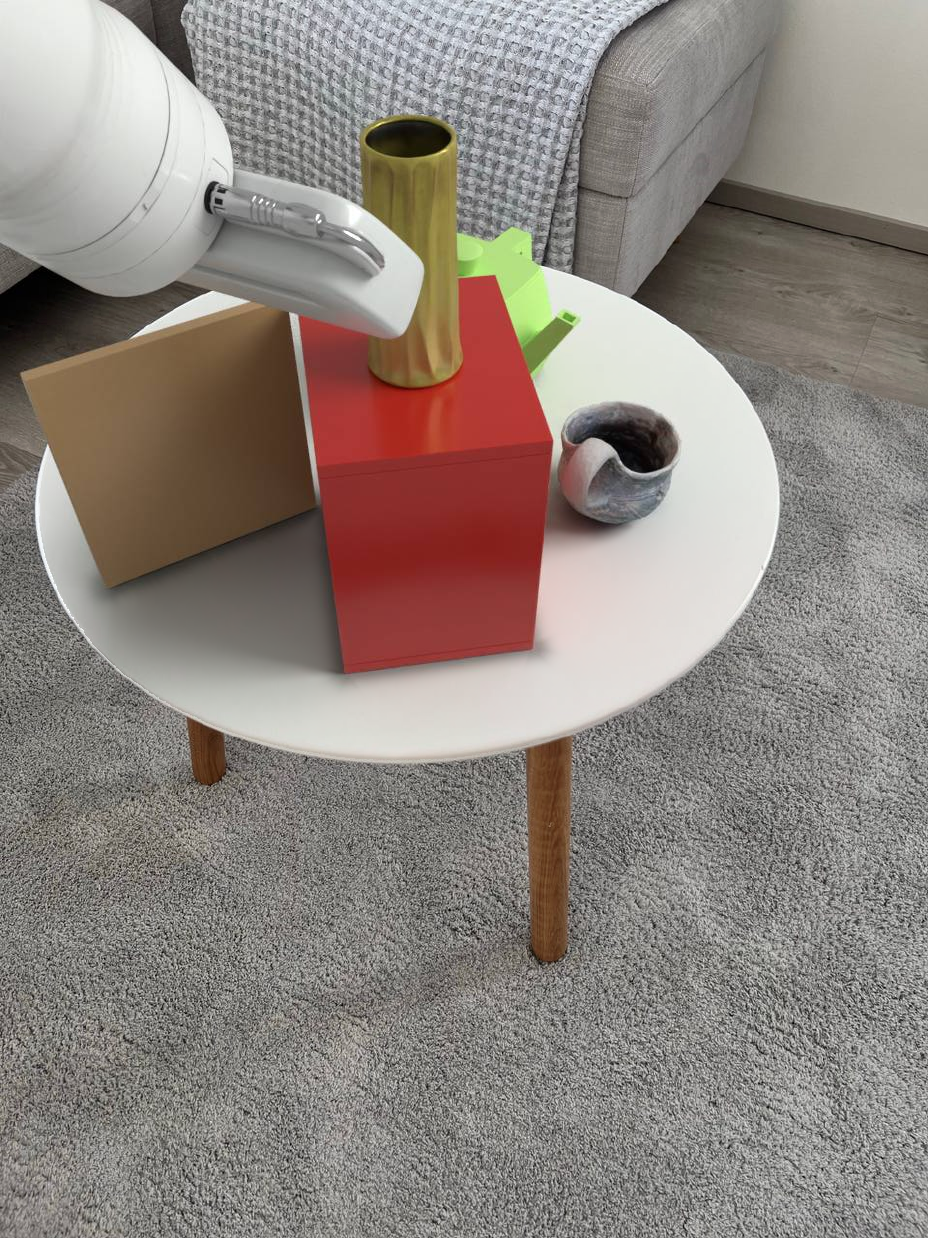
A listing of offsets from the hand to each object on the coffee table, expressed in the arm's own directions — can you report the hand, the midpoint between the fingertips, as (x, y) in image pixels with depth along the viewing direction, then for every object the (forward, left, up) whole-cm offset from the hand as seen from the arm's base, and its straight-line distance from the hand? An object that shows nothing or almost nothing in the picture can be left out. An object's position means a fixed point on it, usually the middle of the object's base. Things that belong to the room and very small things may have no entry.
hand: (270, 289), depth 52 cm
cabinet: (+8, +7, -30) cm, 32 cm away
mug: (+24, +11, -31) cm, 40 cm away
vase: (+8, +7, -11) cm, 15 cm away
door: (-9, +15, -30) cm, 35 cm away
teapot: (+17, +30, -30) cm, 46 cm away
